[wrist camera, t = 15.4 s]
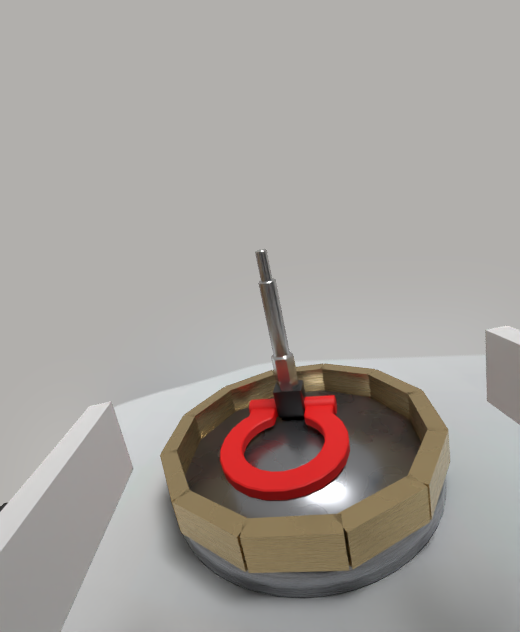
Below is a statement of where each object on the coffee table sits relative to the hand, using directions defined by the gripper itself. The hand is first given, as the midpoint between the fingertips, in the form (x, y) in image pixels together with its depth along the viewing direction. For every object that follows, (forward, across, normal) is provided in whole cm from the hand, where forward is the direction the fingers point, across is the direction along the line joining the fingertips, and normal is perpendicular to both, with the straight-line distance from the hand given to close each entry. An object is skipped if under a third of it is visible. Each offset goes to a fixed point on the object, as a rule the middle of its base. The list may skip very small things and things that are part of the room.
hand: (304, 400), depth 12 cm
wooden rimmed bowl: (+9, 0, -10) cm, 14 cm away
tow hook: (+10, -1, -9) cm, 13 cm away
